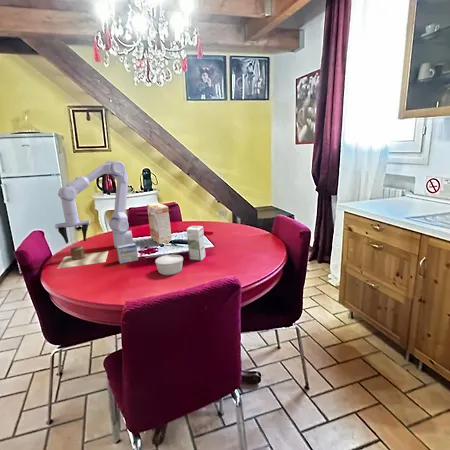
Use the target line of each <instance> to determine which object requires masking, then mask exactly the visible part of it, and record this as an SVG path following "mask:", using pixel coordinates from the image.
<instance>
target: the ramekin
mask: <svg viewBox="0 0 450 450" xmlns="http://www.w3.org/2000/svg"><path fill="white" fill-rule="evenodd" d="M183 261H184V257H183V256H182V255H179V254H165V255H161V256H159V257H157V258H156V259H155V260H154V263H155V265H156V267H157V271H158V273H160V275H164V276H172V275H176V274H178V273H180V272H181V271H182V270H183Z"/></svg>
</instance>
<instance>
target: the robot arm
mask: <svg viewBox="0 0 450 450" xmlns="http://www.w3.org/2000/svg"><path fill="white" fill-rule="evenodd" d="M126 167H127V166H126V165H125V164H124V163H123V162H122V161H121V160H106V161H105V162H103V163H101V164H100V165H98V166H97V167H95V168H94V169H93V170H92V171H91V172H89V173H88V174H86V175H85V176H81V175H80V176H76V177H75V179H74V180H72V181H71V182H68V183H66V184H65V185H66V186H61V187H60V188H59V189H58V193H57V196H58V197H59V198H60V200H61V207H62V210H63V216H64V220H65V222H61V223H55V224H54V228H55V230H57V232H58V233H59V234H60V235H61V237H62V238H63V240H64V242H65V244H68V243H69V239H68V238H69V237H68V231H67V228H74V227H80V228H81V233H82V239H83V242H86V241H87V231H88V229H89V226H90V225H91V220H90V219H89V220H80V217H79V213H78V207H77V202H76V198H77V195H78V194H80V193H82V192H83V191H84V190H86V189H87V188H89V187H90V183H91V182H93V181H94V180H96V179H98V178H99V177H102V175H110V176H112V177H113V179H115V181H116V188H115V199H114V209H113V212H112V214H111V219H110V220H109V222H108V226H109V228H110V229H111V232H112V238H113V239H112V240H113V245H114V248H115V249H117V246H120V245H125V244H130V243H135V241H134V239H133V233H132V230H129V226H130V225H129V222H128V221H129V220H128V219H129V218H128V215H127V214H126V210H127V200H128V191H129V190H128V189H129V175H128V172H127V170H126Z"/></svg>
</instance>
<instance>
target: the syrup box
mask: <svg viewBox="0 0 450 450" xmlns="http://www.w3.org/2000/svg"><path fill="white" fill-rule="evenodd" d="M204 233H205V232H204V226H202V225H190V226H188V228H186V236H187V246H188V247H187V248H188V256H189V257H188V258H189V260H190V261H202V260H203V259H205V258H206V249H205V248H206V247H205V237H204V235H205V234H204Z"/></svg>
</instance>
